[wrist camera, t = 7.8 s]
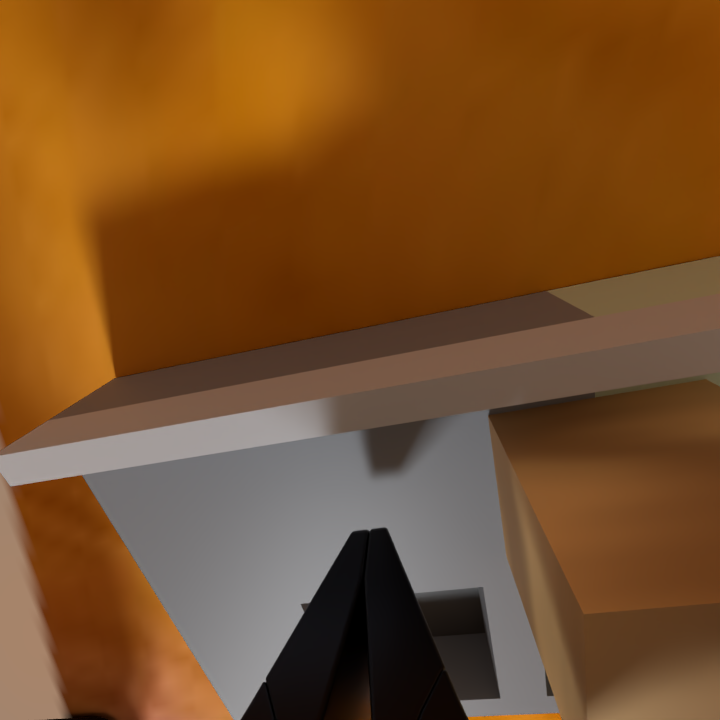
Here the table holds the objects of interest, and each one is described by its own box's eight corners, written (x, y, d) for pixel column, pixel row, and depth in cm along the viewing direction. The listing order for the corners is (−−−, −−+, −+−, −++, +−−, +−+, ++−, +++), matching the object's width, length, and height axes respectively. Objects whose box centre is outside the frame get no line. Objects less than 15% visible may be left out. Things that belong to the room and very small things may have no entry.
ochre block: (506, 556, 10) (589, 799, 6) (488, 415, 9) (584, 614, 4) (688, 536, 9) (925, 795, 5) (705, 378, 8) (1064, 573, 4)
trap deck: (258, 654, 17) (216, 802, 13) (114, 378, 12) (-35, 472, 8) (701, 622, 14) (832, 796, 10) (760, 247, 9) (1075, 282, 5)
